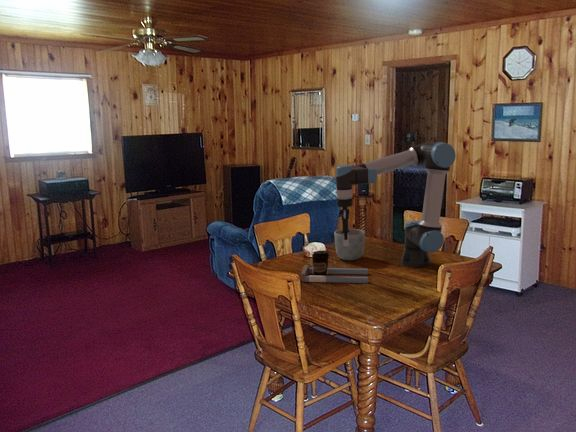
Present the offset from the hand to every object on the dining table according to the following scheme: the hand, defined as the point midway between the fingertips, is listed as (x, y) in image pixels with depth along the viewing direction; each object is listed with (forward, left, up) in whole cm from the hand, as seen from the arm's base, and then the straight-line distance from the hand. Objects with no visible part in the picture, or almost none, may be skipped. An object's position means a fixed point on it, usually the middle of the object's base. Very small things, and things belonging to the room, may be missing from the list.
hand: (346, 245), depth 256 cm
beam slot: (+5, 0, -16) cm, 17 cm away
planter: (0, -35, -16) cm, 38 cm away
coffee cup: (+13, 0, -16) cm, 21 cm away
